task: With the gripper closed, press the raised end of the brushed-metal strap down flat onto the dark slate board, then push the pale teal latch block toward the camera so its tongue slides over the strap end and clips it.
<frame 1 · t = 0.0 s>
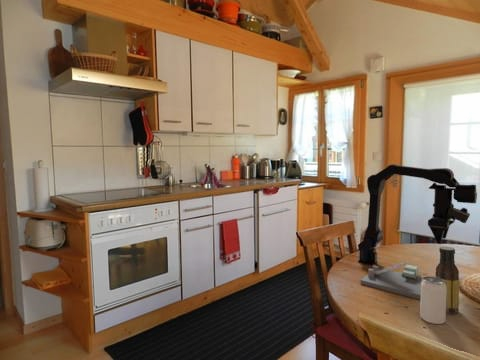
hand: (441, 240, 124), 15 cm above the table, fingers open, 9 cm apart
can: (432, 319, 95), on the table
sauce bottle: (446, 310, 100), on the table
latch: (410, 272, 121), point 4 cm above the table, slide at 0.0 cm
board: (398, 284, 120), on the table
strap: (388, 268, 121), point 5 cm above the table, hinge at 30.0°
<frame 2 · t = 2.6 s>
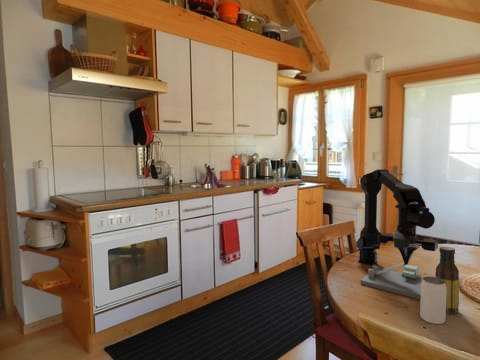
hand: (406, 264, 116), 9 cm above the table, fingers closed
strap: (388, 269, 121), point 5 cm above the table, hinge at 29.0°, touching gripper
everything else where it was.
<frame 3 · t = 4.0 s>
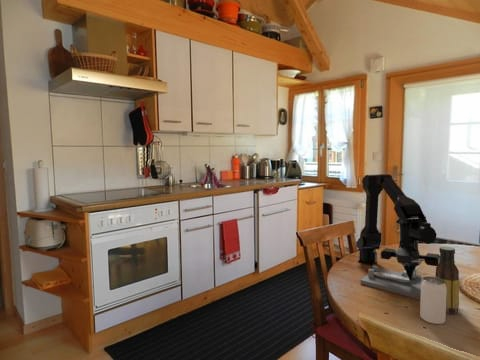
hand: (410, 279, 116), 3 cm above the table, fingers closed, pressing on strap
strap: (390, 276, 120), point 3 cm above the table, hinge at 3.0°, touching gripper
everything else where it was.
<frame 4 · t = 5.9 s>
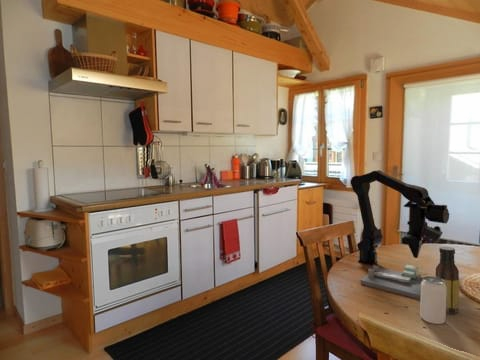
hand: (415, 257, 127), 7 cm above the table, fingers closed
strap: (390, 276, 120), point 3 cm above the table, hinge at 3.2°
everything else where it was.
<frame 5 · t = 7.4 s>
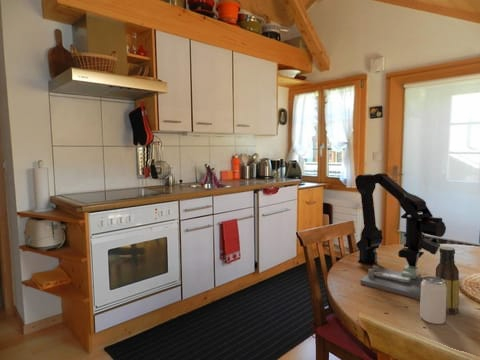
hand: (413, 270, 124), 3 cm above the table, fingers closed
latch: (409, 273, 121), point 4 cm above the table, slide at 0.6 cm, touching gripper
everything else where it was.
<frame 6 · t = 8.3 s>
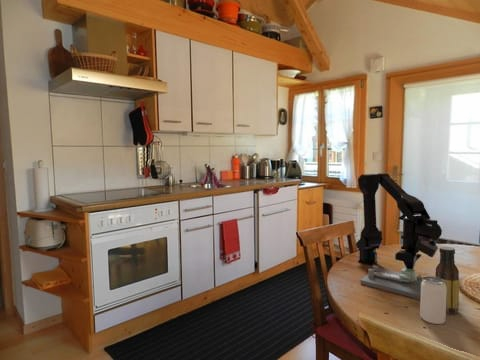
hand: (410, 273, 122), 3 cm above the table, fingers closed
latch: (407, 275, 118), point 4 cm above the table, slide at 4.2 cm, touching gripper, strap
strap: (390, 276, 120), point 3 cm above the table, hinge at 3.2°, touching latch
everything else where it was.
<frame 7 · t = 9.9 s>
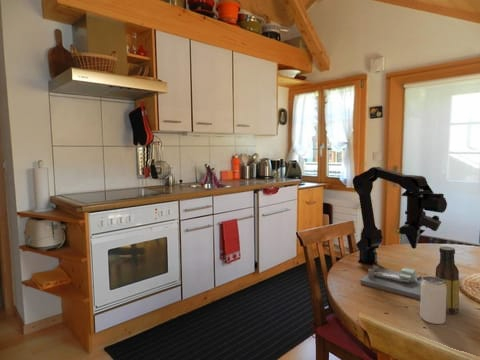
hand: (413, 248, 124), 12 cm above the table, fingers closed
latch: (407, 275, 118), point 4 cm above the table, slide at 4.2 cm, touching strap
everything else where it was.
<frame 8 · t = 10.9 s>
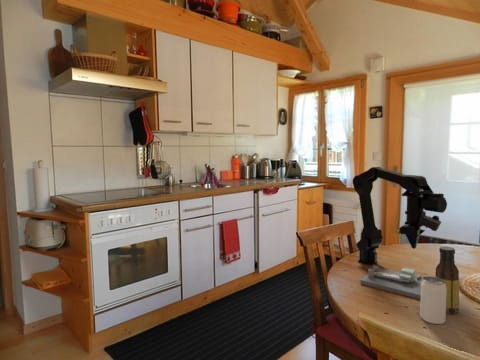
hand: (413, 248, 124), 12 cm above the table, fingers closed
nothing on the table moved.
at the end: strap at +3° (first picture: +30°); latch slide at 4.2 cm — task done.
